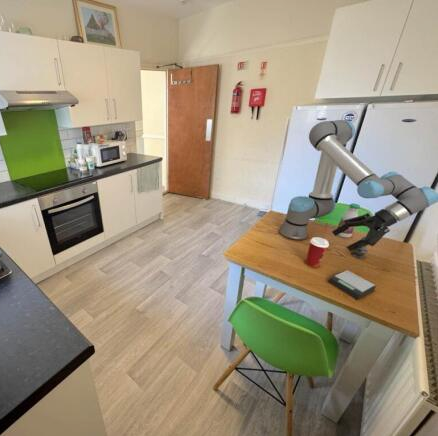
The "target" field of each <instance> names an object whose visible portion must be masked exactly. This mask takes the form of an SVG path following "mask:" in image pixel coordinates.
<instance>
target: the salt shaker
mask: <svg viewBox="0 0 438 436" xmlns="http://www.w3.org/2000/svg"><path fill="white" fill-rule="evenodd" d="M365 237H366V236H362V237H361V239H362V240H363V239H365ZM363 241H364V240H363ZM367 246H368V245H365V246H363V247H361V248H357V249H355V250H353V251H351V255H352V256H353V257H355V258H357V259H364V258H365V255H366V254H368V250H367V249H366V248H367Z"/></svg>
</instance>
